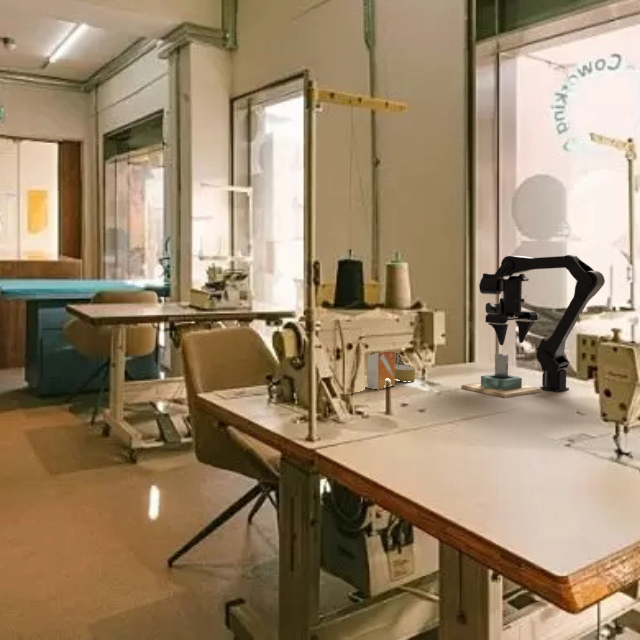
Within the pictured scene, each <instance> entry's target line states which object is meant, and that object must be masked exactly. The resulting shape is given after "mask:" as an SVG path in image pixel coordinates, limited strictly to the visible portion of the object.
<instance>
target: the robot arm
mask: <svg viewBox="0 0 640 640" xmlns="http://www.w3.org/2000/svg"><path fill="white" fill-rule="evenodd" d="M548 269H549V270H550V269H566V270H568V272H569V274H570V275H571V277H573V278H574V279H575V280H576V284H575V287H574V294H573V297H572V298H571V301H570V302H569V304H568V306H567V308H566V310H565V311H564V313H563V315H562V316H561V318H560V320H559V322H558V323H557V326H556V327H555V329H554V331H553V332H552V334H551V335H550V336H548V337H543V338H541V340H540V343H539V345H538V347H536V348H535V350H536V353H535V357H536V360H537V362H538V363H539V364H540V366H541V367H540V368H541V370H542V371H543V373H542V376H541V378H542V379H541V381H542V382H541V386H540V387H539V388H542V390H546V391H549V392H550V391H551V392H560V391H561V392H562V391H568V390H570V387H568V386H567V370H566V369H568V367H569V365H570V361H569V360H568V359H567V358H566V357H565V356H564V352H565V347H566V341H567V340H568V337H569V335H570V334H571V332H572V331H573V329H574V327H575V325H576V323H577V322H578V320H579V318H580V317H579V314H580V313H581V314H582V313H583V311H584V309H585V308H586V306H587V304H588V303H589V301H591V300H592V299H593V297H595V296H596V294H598V293H599V291H600V290H601V289H602V287H603V286H604V284H605V282H606V280H605V276H604V275H603V273H601V271H598V270H594V269H593V268H592V267H591V266H590V265H588V264H587V263H585V262H584V261H583V260H581V259H580V258H579V257H578V255H575V254H567V255H561V256H560V255H559V256H543V257H530V256H522V255H506V256H505V257H504V258H503V259H502V260H501V262H500V266H499V268H498V269H497V270H496V272H495V273H488V272H486V273H485V272H484V273H482V278H481V279H480V282H479V284H478V285H479V286H478V287H479V292H480V293H481V294H482V295H497V296H498V295H501V293H502V298H499V303H494V302H488V303H485V307H484V309H485V313H486V315H485V323H488V326H491V327H492V328H493V329H494V331H495V334H496V337H497V340H498V343H499V346H504V343H505V342H506V341H505V340H506V335H507V330H508V327H509V323H507V322H509V321H515V323H516V324H517V327H518V342H519V344H523V343H524V341H525V339H526V337H527V335H528V333H529V331H530V330H531V328H532V326H533V325H534V324H535V323H536V321H539V320H538V319H539V316H538V313H537V312H536V311H532V310H522V303H523V302H524V303H525V298H522V297H523V296H522V292H523V290H522V288H523V282H529V280H530V279H529V278H528V277H527V276H526V275H525V274H524V273H525V272H526V273H527V272H529V271H533V270H548ZM517 274H519V275H517ZM506 277H508V278H506Z"/></svg>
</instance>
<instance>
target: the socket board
mask: <svg viewBox="0 0 640 640" xmlns="http://www.w3.org/2000/svg"><path fill="white" fill-rule="evenodd" d="M522 381H523V378H522V377H520V376H517V375H516V376H515V375H510V374H508V378H507V379H498V378H495V373H493V374H486V375H481V376H480V382H474V383H467V384H461V389H464V390H468V391H473V392H478V393H482V394H487V395H492V396H496V397H500V398H505V399H507V398H511V397H517V396H522V395H531V394H535V393H541V392H543V391H542V390H543V389H542V388H540V387H536V386H531V385H526V384H523V383H522Z"/></svg>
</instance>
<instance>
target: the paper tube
mask: <svg viewBox="0 0 640 640" xmlns="http://www.w3.org/2000/svg"><path fill="white" fill-rule="evenodd" d="M395 379H398V380H400V381H406V382H405V383H409V382H408V381H412V382H415V380H416V368H415V369H413V368H411V367H409V366H407V365H405V364H404V363H403V361H402V359H401V357H400V355H399V354H398V353H395Z"/></svg>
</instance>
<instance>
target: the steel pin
mask: <svg viewBox="0 0 640 640" xmlns="http://www.w3.org/2000/svg"><path fill="white" fill-rule="evenodd" d="M494 374H495V378H498V379H507V378H508V375H509V354H508V353H495V354H494Z"/></svg>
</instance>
